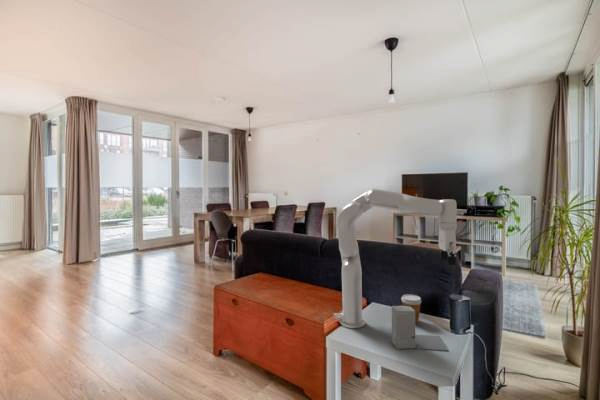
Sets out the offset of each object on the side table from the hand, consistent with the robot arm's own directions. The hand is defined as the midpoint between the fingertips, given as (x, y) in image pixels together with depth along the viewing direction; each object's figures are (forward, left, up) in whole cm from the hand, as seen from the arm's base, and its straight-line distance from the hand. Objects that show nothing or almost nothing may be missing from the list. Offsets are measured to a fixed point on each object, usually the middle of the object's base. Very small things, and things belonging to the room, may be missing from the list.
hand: (447, 262), depth 142 cm
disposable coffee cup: (-15, +5, -31) cm, 35 cm away
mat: (-12, -16, -31) cm, 37 cm away
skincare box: (-23, -19, -31) cm, 43 cm away
